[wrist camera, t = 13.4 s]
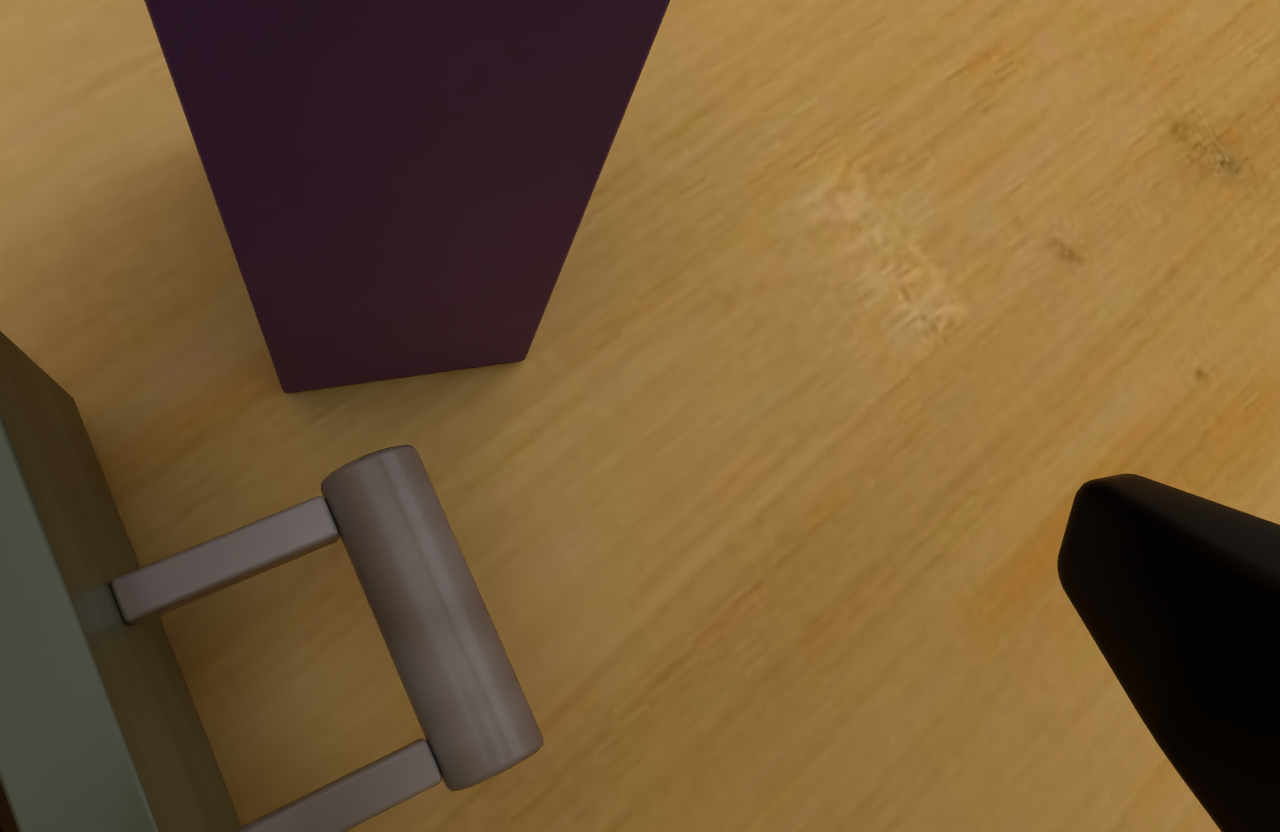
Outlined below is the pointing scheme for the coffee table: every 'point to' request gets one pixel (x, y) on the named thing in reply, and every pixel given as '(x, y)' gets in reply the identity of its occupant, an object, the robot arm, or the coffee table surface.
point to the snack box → (402, 165)
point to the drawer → (135, 598)
